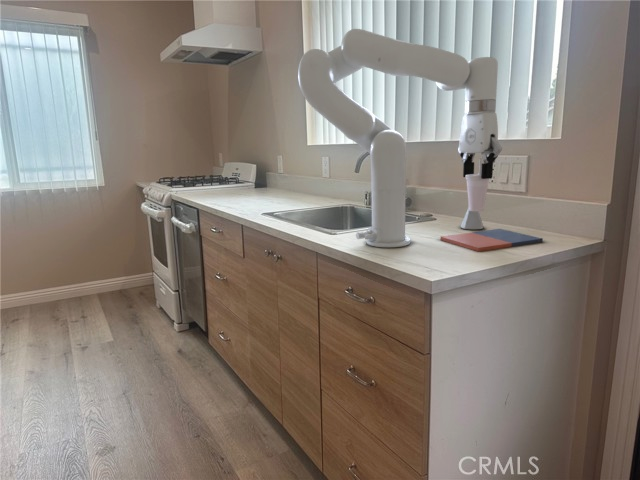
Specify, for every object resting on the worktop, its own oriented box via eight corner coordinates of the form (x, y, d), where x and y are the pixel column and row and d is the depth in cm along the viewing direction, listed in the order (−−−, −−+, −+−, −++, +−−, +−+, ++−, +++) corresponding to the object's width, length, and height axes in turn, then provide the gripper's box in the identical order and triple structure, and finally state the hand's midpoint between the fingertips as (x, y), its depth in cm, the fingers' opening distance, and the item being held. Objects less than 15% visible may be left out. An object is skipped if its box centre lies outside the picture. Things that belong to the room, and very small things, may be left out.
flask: (485, 230, 137) (487, 198, 134) (461, 230, 138) (462, 199, 136) (481, 225, 144) (483, 196, 141) (459, 225, 145) (460, 196, 143)
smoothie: (485, 212, 114) (488, 158, 111) (461, 211, 118) (463, 159, 115) (490, 209, 120) (493, 157, 117) (467, 208, 123) (469, 158, 120)
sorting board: (478, 251, 111) (478, 247, 111) (440, 239, 126) (440, 236, 126) (542, 241, 119) (542, 238, 119) (499, 231, 134) (499, 228, 133)
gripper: (447, 111, 119) (445, 176, 123) (492, 105, 104) (489, 180, 108) (469, 111, 122) (467, 175, 126) (517, 105, 106) (512, 178, 110)
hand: (477, 177), depth 117 cm, fingers closed on smoothie, 6 cm apart
